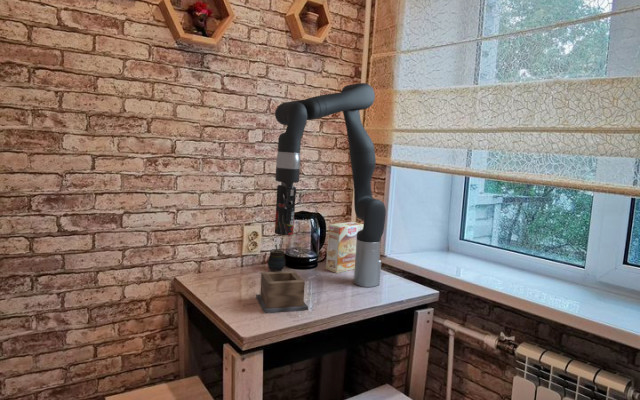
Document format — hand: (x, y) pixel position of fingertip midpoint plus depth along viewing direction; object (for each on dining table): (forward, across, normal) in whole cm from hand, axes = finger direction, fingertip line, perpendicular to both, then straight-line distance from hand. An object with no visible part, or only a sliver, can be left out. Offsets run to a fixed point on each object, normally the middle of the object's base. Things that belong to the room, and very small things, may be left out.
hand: (284, 219), depth 139 cm
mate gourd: (+28, +37, -7) cm, 47 cm away
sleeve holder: (+28, 0, 0) cm, 28 cm away
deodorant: (+5, 0, 0) cm, 5 cm away
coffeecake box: (+28, +34, -36) cm, 57 cm away
